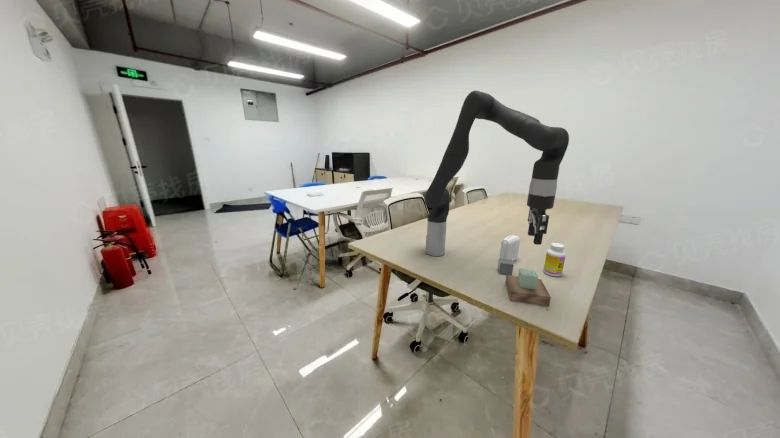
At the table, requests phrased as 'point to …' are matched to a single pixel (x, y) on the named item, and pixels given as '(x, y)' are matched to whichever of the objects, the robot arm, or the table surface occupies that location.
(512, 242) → the photo printer
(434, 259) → the table surface
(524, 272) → the sage cube
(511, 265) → the charcoal cube
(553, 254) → the supplement bottle
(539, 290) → the walnut block
